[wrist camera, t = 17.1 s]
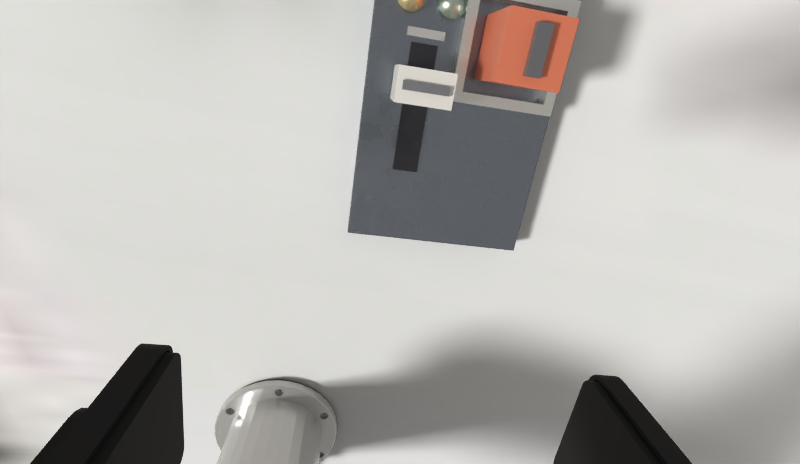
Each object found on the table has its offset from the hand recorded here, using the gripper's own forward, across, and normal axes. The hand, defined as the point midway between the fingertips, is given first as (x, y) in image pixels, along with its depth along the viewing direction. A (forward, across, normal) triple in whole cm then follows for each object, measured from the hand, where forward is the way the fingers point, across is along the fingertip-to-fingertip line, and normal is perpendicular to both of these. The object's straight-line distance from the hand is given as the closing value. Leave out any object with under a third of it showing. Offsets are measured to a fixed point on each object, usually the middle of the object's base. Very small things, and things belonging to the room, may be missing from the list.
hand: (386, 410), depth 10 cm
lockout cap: (+26, -10, -10) cm, 30 cm away
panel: (+28, -6, -4) cm, 29 cm away
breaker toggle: (+26, -3, -7) cm, 27 cm away
